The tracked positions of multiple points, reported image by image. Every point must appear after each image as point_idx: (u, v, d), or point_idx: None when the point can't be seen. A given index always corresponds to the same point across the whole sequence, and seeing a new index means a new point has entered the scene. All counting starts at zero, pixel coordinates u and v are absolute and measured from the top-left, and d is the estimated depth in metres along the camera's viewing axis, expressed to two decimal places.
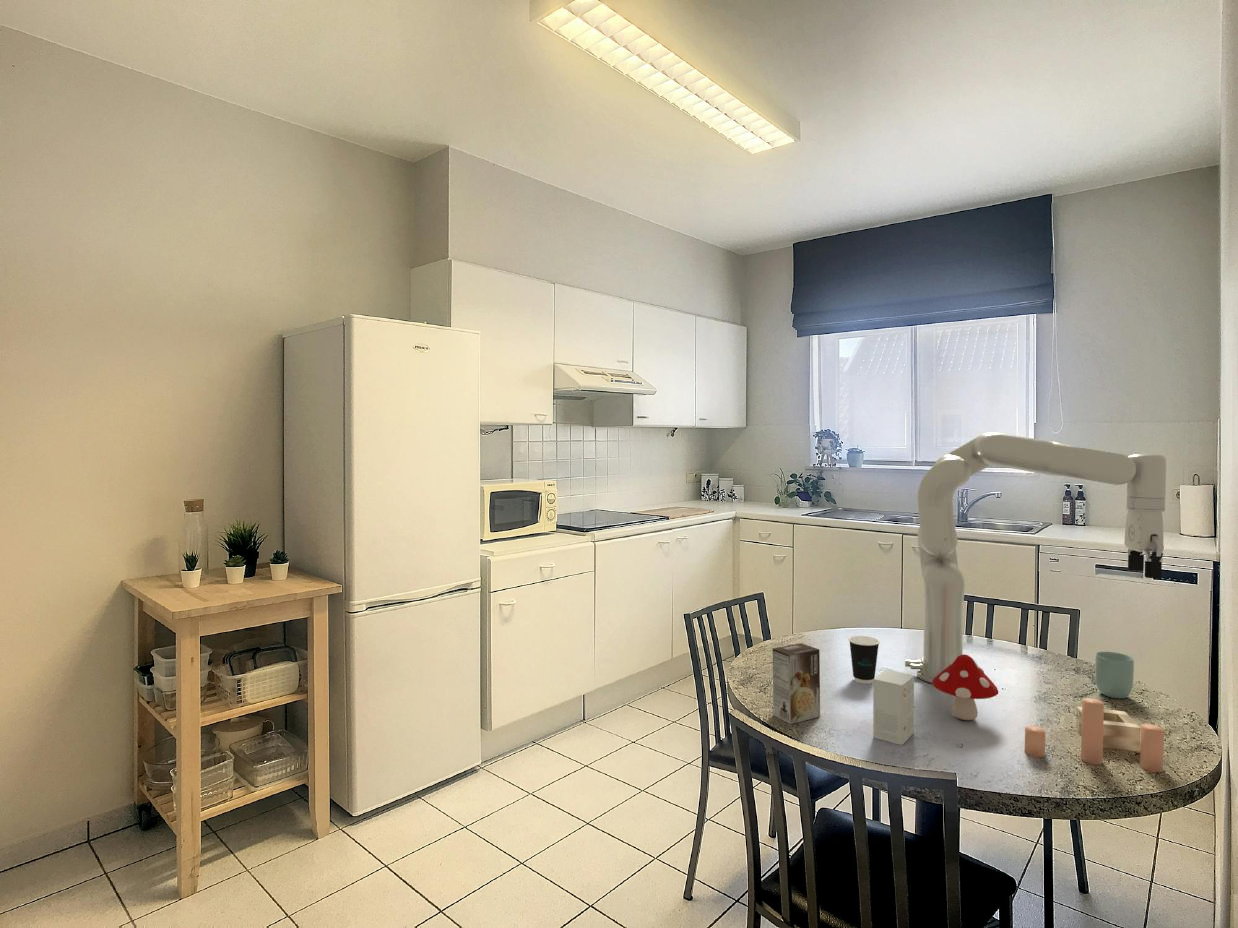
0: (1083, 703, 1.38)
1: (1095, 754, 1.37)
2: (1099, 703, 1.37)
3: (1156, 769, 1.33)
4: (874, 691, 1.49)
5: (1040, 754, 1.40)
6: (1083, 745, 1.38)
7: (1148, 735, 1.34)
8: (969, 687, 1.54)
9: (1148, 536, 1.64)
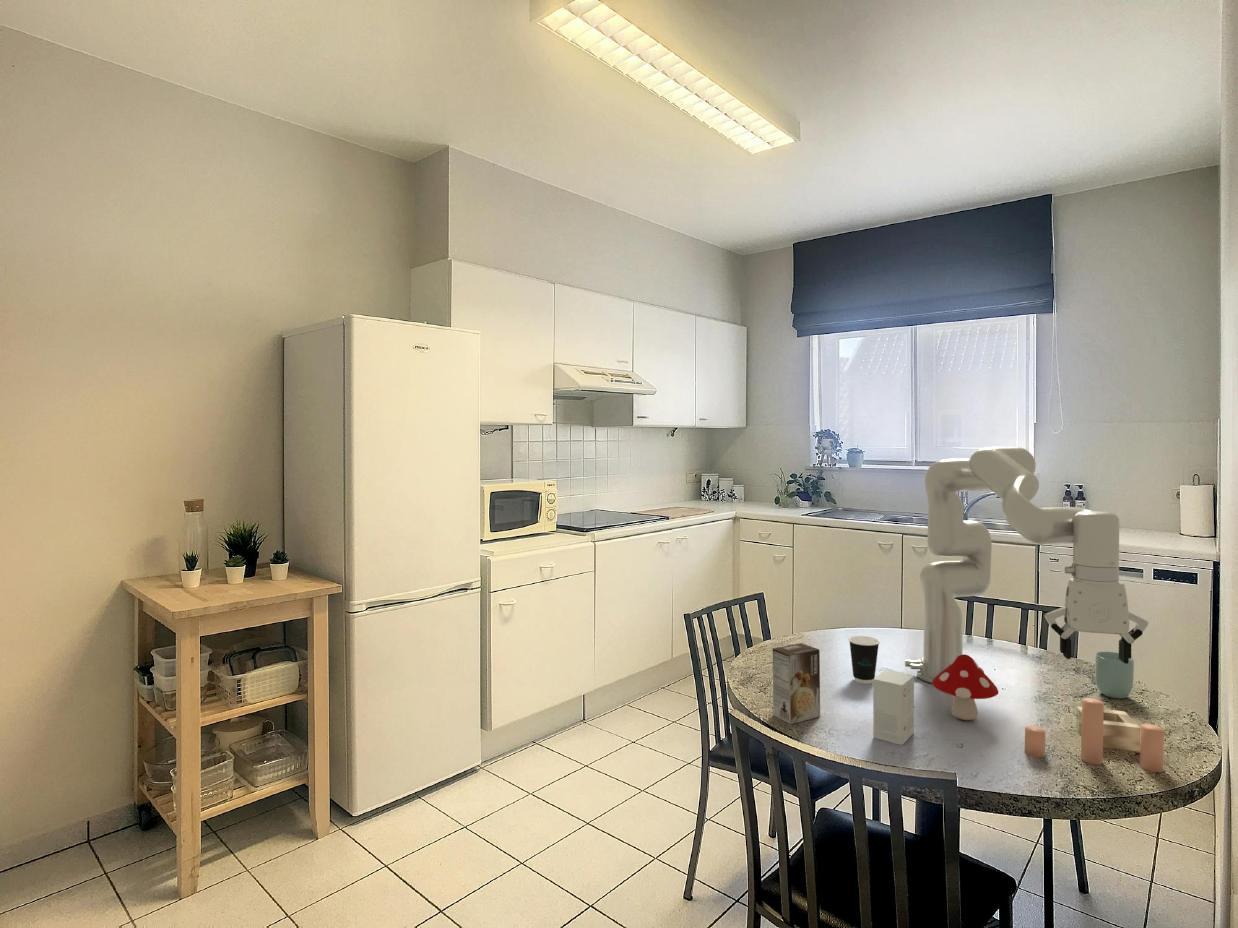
0: (1083, 703, 1.38)
1: (1095, 754, 1.37)
2: (1098, 703, 1.37)
3: (1156, 769, 1.33)
4: (874, 691, 1.49)
5: (1040, 754, 1.40)
6: (1083, 745, 1.38)
7: (1147, 735, 1.34)
8: (969, 687, 1.54)
9: None
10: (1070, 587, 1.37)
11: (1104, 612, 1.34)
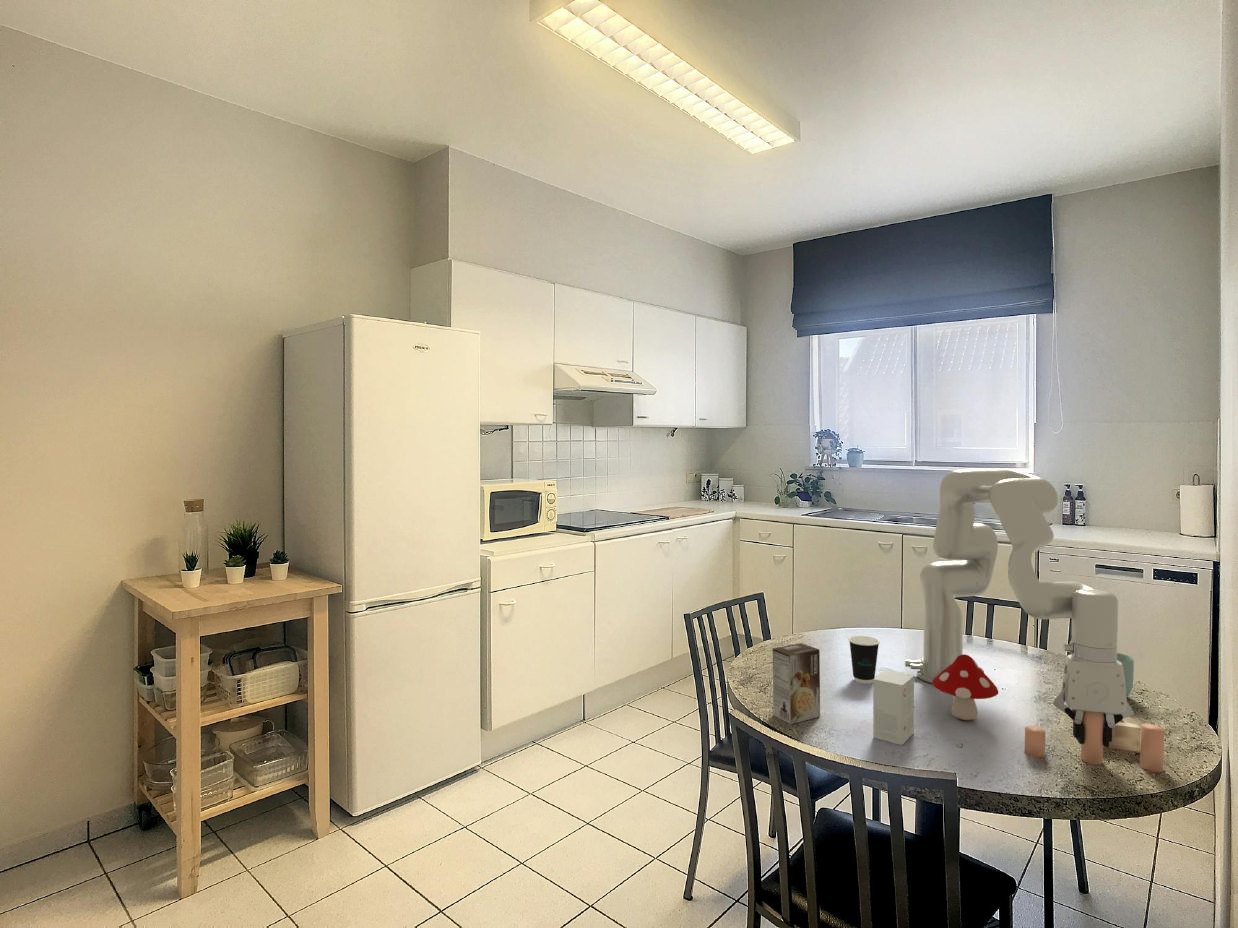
0: None
1: (1095, 754, 1.36)
2: None
3: (1156, 769, 1.33)
4: (874, 691, 1.49)
5: (1040, 754, 1.40)
6: (1083, 745, 1.38)
7: (1148, 735, 1.34)
8: (969, 687, 1.54)
9: None
10: (1068, 665, 1.38)
11: (1102, 692, 1.35)
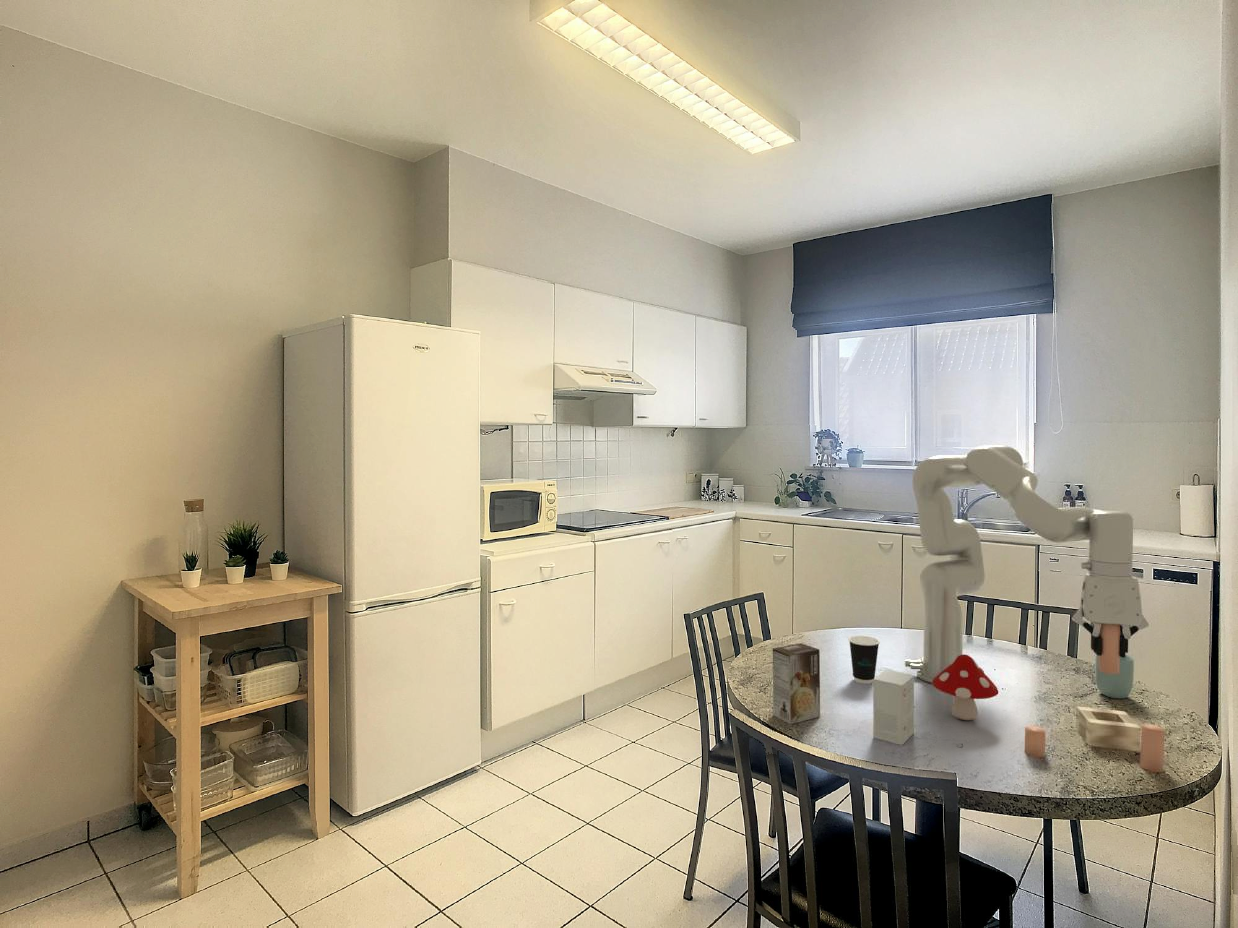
0: None
1: (1112, 664, 1.45)
2: None
3: (1157, 769, 1.33)
4: (874, 691, 1.49)
5: (1040, 754, 1.40)
6: (1101, 657, 1.47)
7: (1149, 735, 1.34)
8: (969, 687, 1.54)
9: None
10: (1086, 581, 1.47)
11: (1118, 605, 1.44)
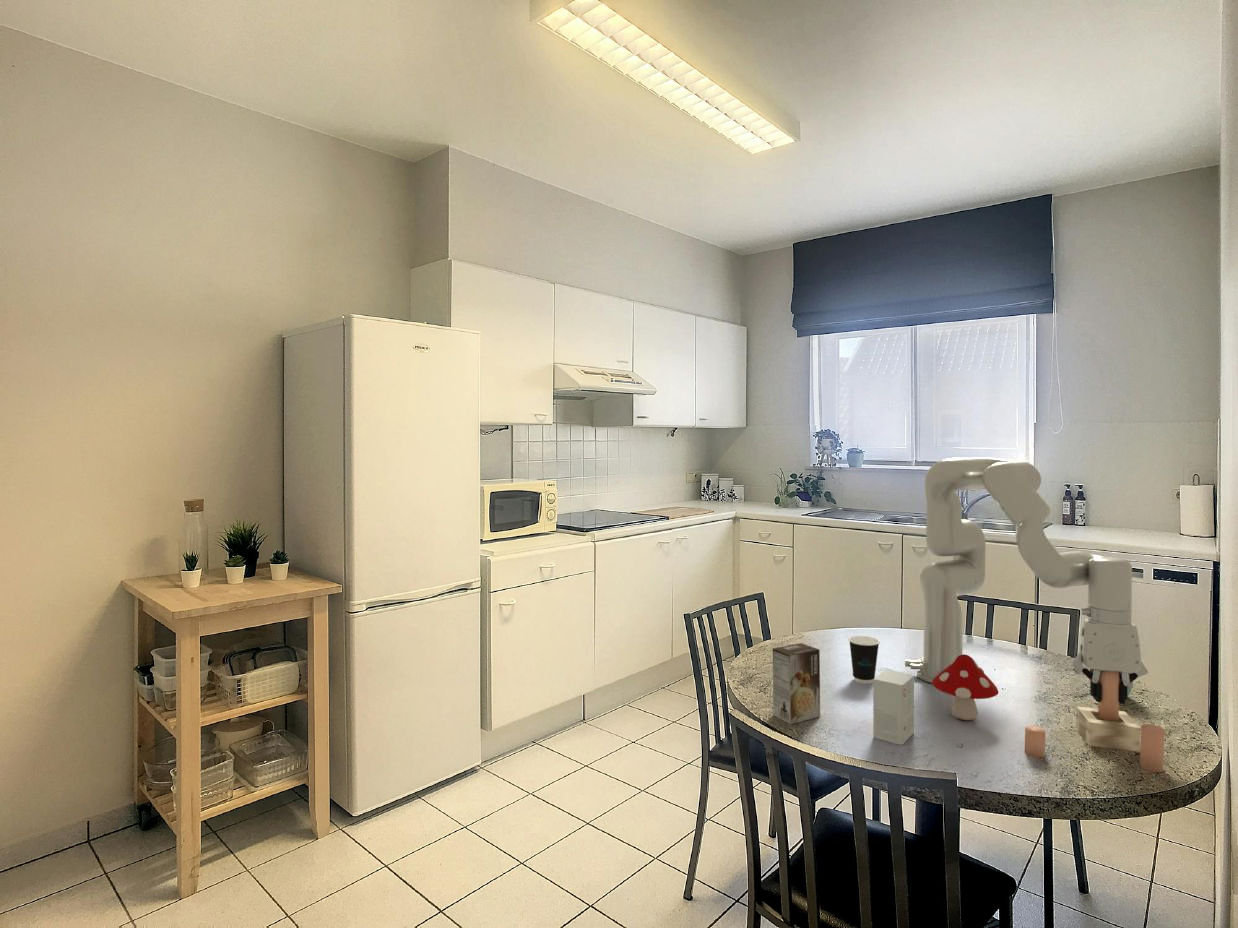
0: None
1: (1112, 711, 1.45)
2: None
3: (1157, 769, 1.33)
4: (874, 691, 1.49)
5: (1040, 754, 1.40)
6: (1100, 703, 1.47)
7: (1148, 736, 1.34)
8: (969, 687, 1.54)
9: None
10: (1085, 628, 1.47)
11: (1117, 652, 1.44)
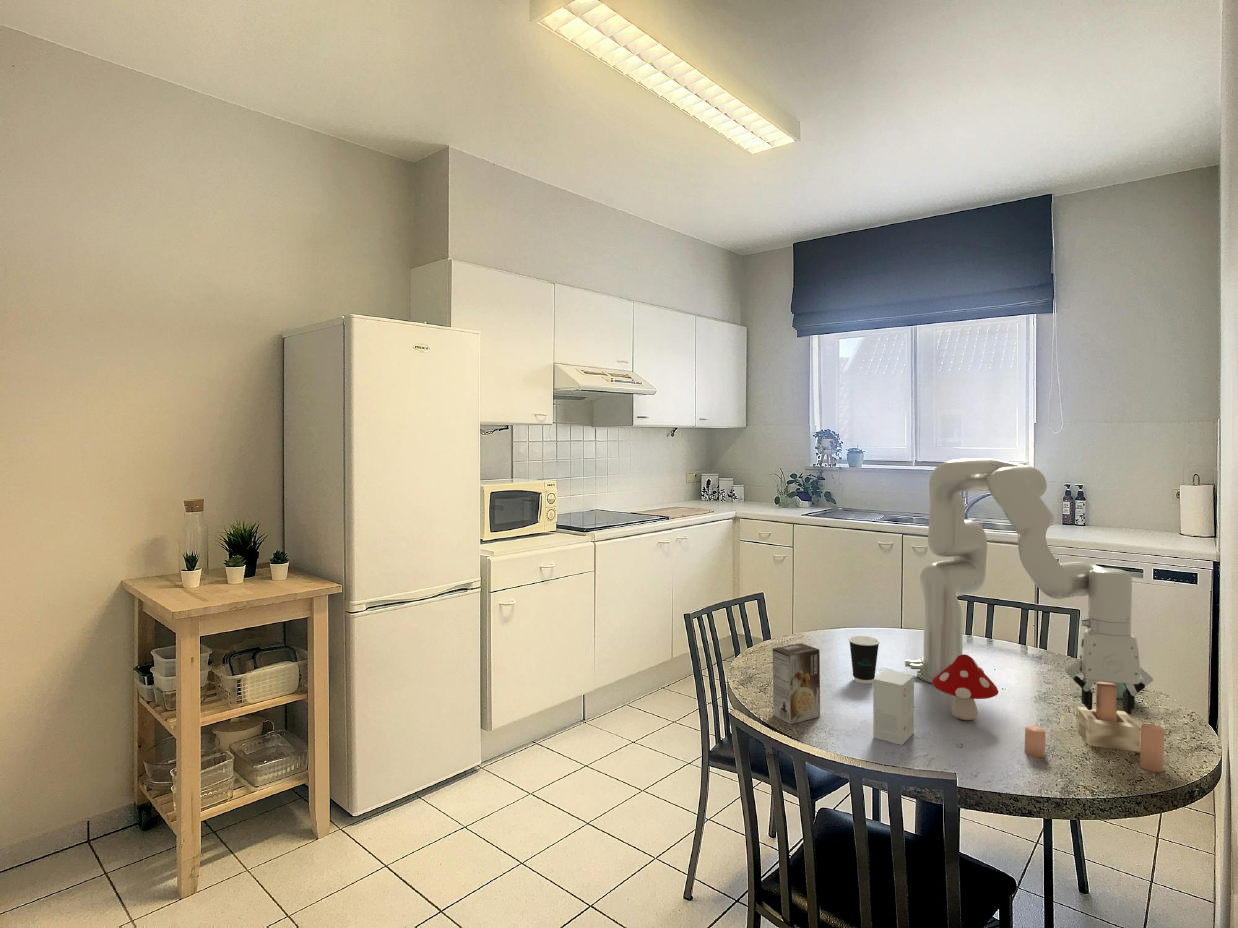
0: (1097, 686, 1.47)
1: None
2: (1112, 685, 1.46)
3: (1157, 769, 1.33)
4: (874, 691, 1.49)
5: (1040, 754, 1.40)
6: None
7: (1148, 735, 1.34)
8: (969, 687, 1.54)
9: None
10: (1085, 639, 1.47)
11: (1117, 663, 1.44)
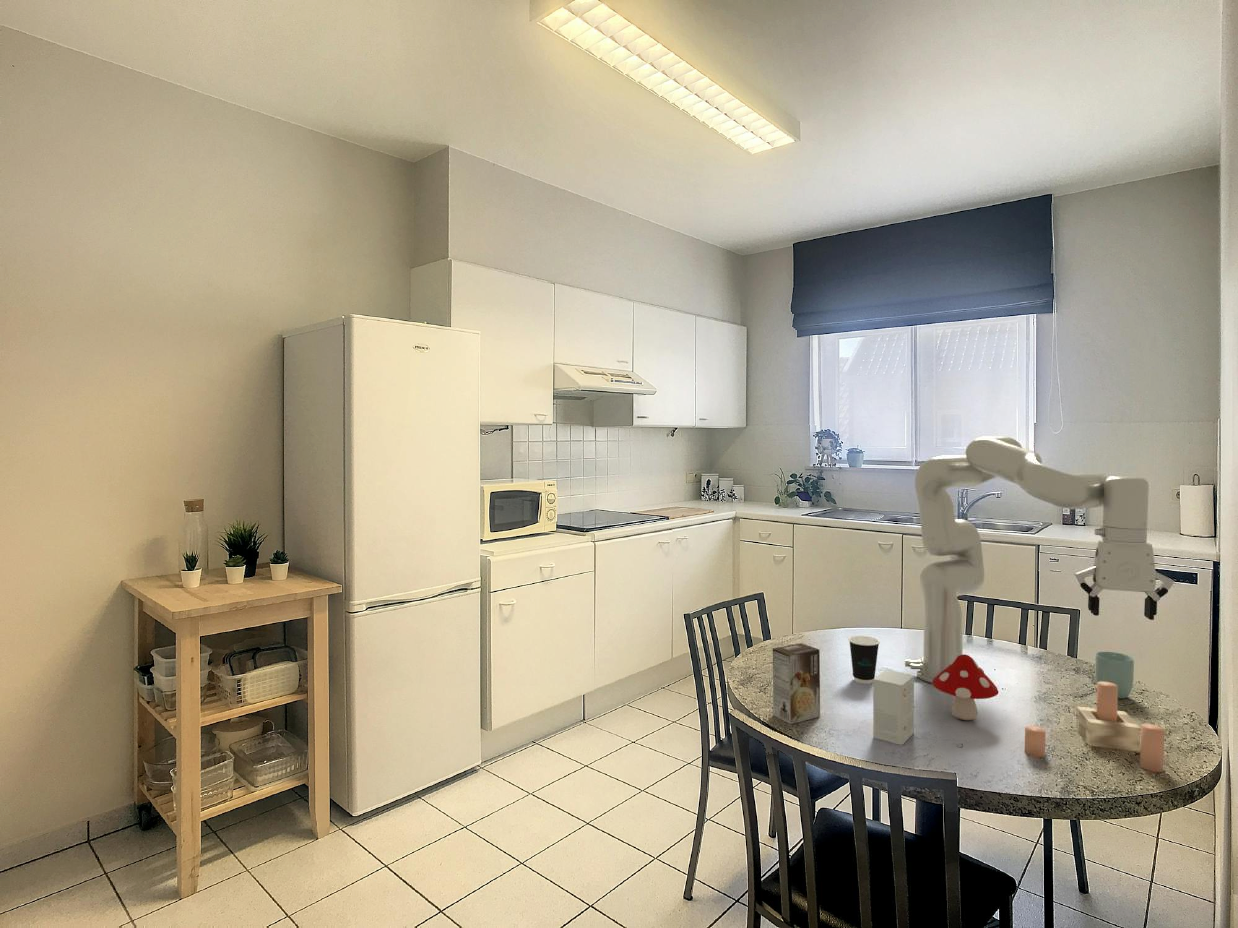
0: (1098, 686, 1.47)
1: None
2: (1113, 686, 1.46)
3: (1157, 769, 1.33)
4: (874, 691, 1.49)
5: (1040, 754, 1.40)
6: None
7: (1149, 735, 1.34)
8: (969, 687, 1.54)
9: None
10: (1100, 548, 1.45)
11: (1132, 571, 1.42)
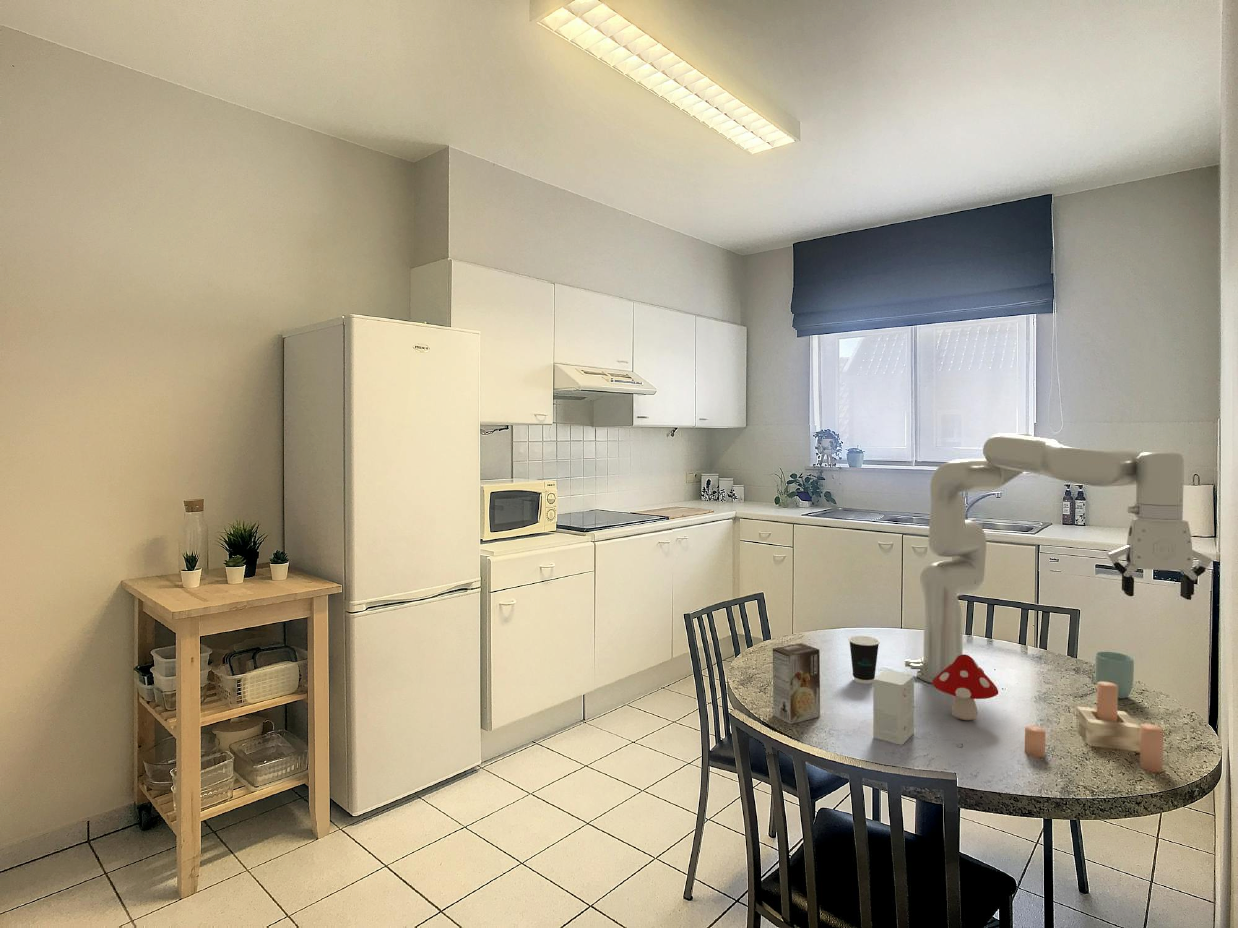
0: (1098, 686, 1.47)
1: None
2: (1113, 686, 1.46)
3: (1157, 769, 1.33)
4: (874, 691, 1.49)
5: (1040, 754, 1.40)
6: None
7: (1148, 736, 1.34)
8: (969, 687, 1.54)
9: None
10: (1134, 526, 1.40)
11: (1168, 549, 1.37)
